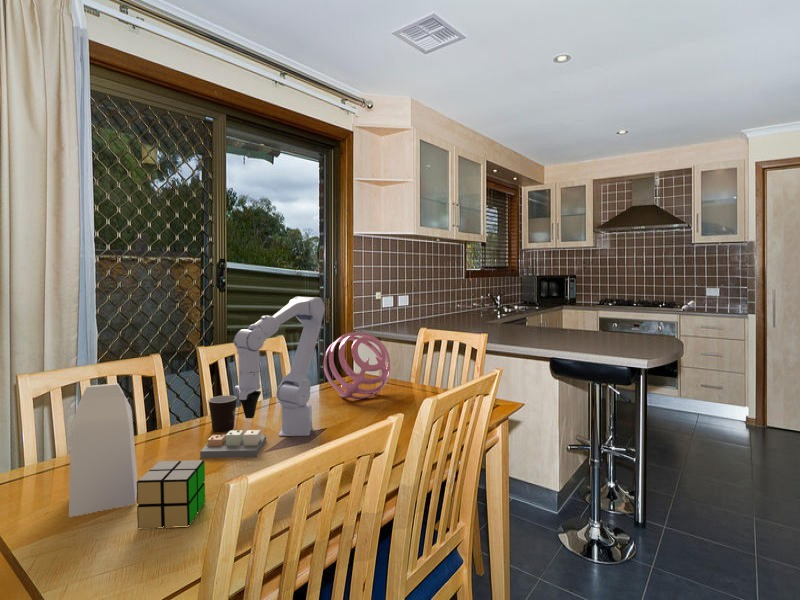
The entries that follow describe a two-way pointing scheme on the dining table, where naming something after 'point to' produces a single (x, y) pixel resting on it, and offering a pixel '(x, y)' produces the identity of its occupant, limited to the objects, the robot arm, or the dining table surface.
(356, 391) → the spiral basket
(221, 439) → the orange dice cube
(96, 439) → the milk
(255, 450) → the button board
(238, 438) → the pale green cube
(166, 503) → the puzzle cube
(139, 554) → the dining table surface
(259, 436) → the cream single-knob block
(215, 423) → the coffee mug
